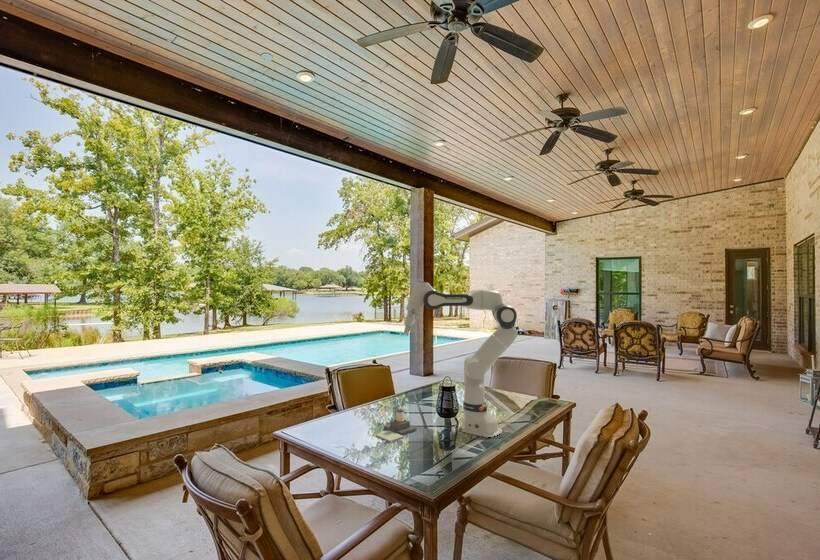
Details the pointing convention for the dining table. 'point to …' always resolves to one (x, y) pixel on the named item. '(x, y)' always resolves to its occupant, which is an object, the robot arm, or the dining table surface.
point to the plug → (400, 416)
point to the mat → (389, 436)
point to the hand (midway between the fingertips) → (406, 332)
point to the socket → (400, 427)
